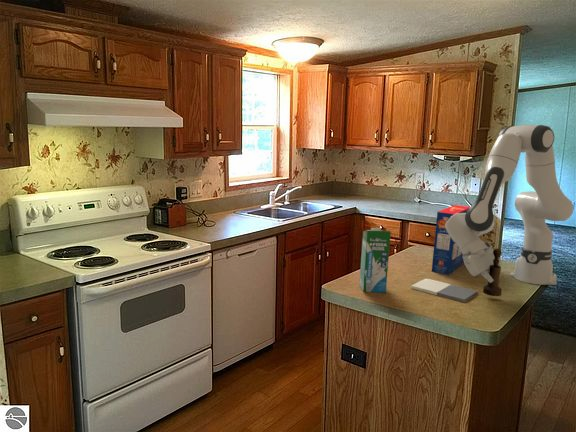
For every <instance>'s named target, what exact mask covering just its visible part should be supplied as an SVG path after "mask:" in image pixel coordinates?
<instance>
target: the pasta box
mask: <svg viewBox="0 0 576 432" xmlns="http://www.w3.org/2000/svg"><path fill="white" fill-rule="evenodd" d="M470 207H471V206H465V205H457V204H454V205H451V206H448V207H446V208H443V209H440V210H439V211H437V214H436V223H435V234H434V243H433V254H432V264H431V272H432V273H438V274H442V275H447V276H449V275H451V274H452V273H453V272H455V271H457V269H459V268H460V267H461V266H462V265H464V259H463V254H462V252H461V251H460V250H459V247H458V245H457V244H456V243H455V242H454V241H453V240H452V238H451V237H450V235H449V234H448V232H447V230H446V227H445V224H446V221H447V220H448V219H449V218H450V217H451V216H452V215H454V214H455V213H466V212H467V210H468V209H469V208H470Z"/></svg>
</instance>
